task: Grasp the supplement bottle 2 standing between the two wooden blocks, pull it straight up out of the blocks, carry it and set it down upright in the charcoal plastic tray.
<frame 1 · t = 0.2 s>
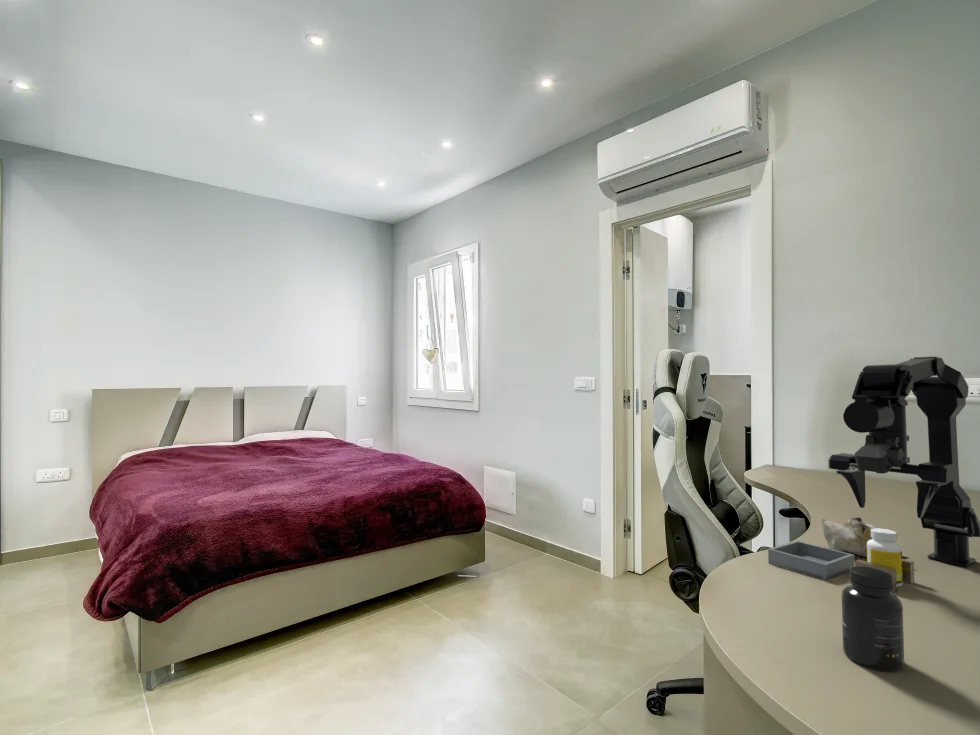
hand: (889, 512, 97), 14 cm above the table, fingers open, 9 cm apart
supplement bottle: (873, 661, 70), on the table
tray: (810, 566, 107), on the table
ceramic sculpture: (861, 556, 114), on the table
wooden blocks: (884, 582, 98), on the table
supplement bottle 2: (885, 583, 98), on the table
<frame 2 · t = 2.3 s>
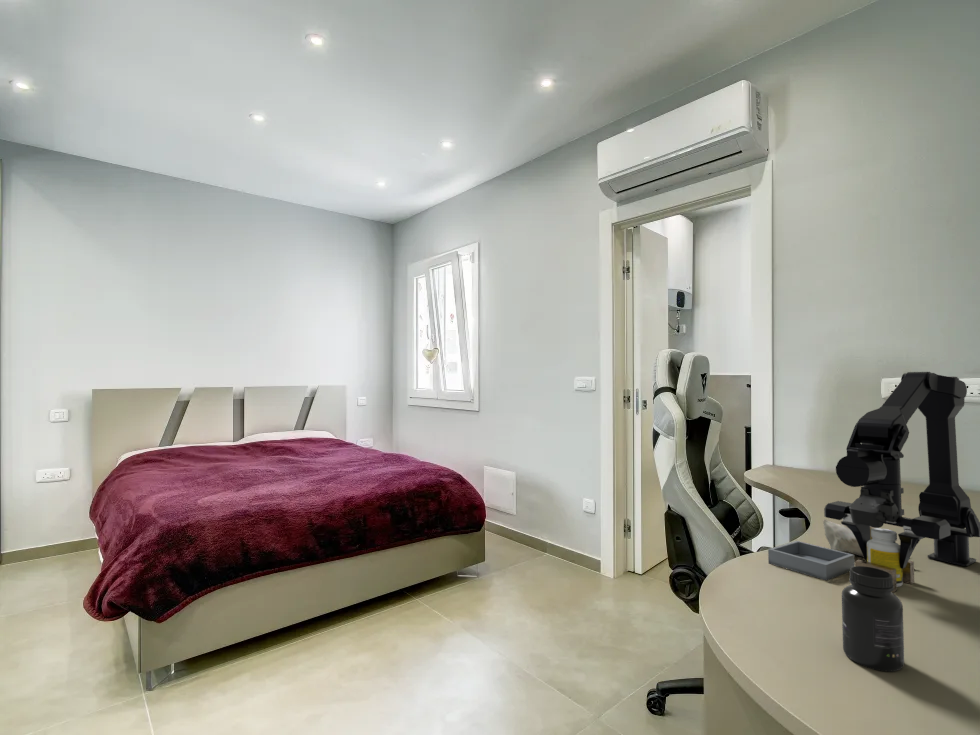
hand: (884, 563, 98), 4 cm above the table, fingers closed on supplement bottle 2, 5 cm apart
supplement bottle 2: (885, 583, 98), on the table, touching gripper
everything else where it was.
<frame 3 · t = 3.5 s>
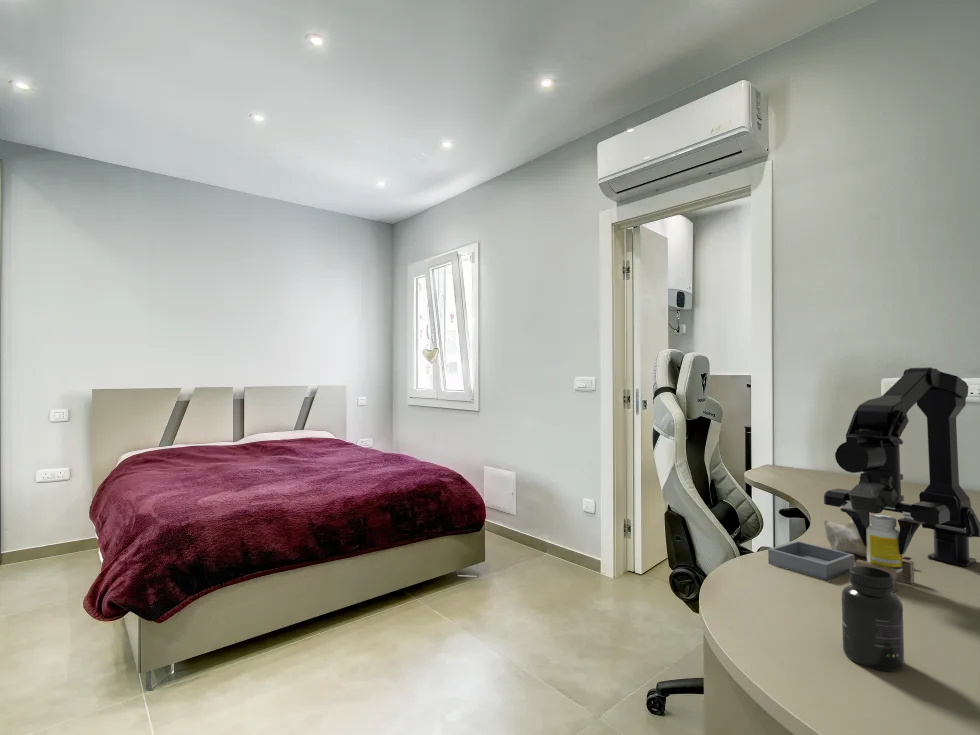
hand: (883, 549, 98), 6 cm above the table, fingers closed on supplement bottle 2, 5 cm apart
supplement bottle 2: (884, 569, 98), point 2 cm above the table, touching gripper
everything else where it was.
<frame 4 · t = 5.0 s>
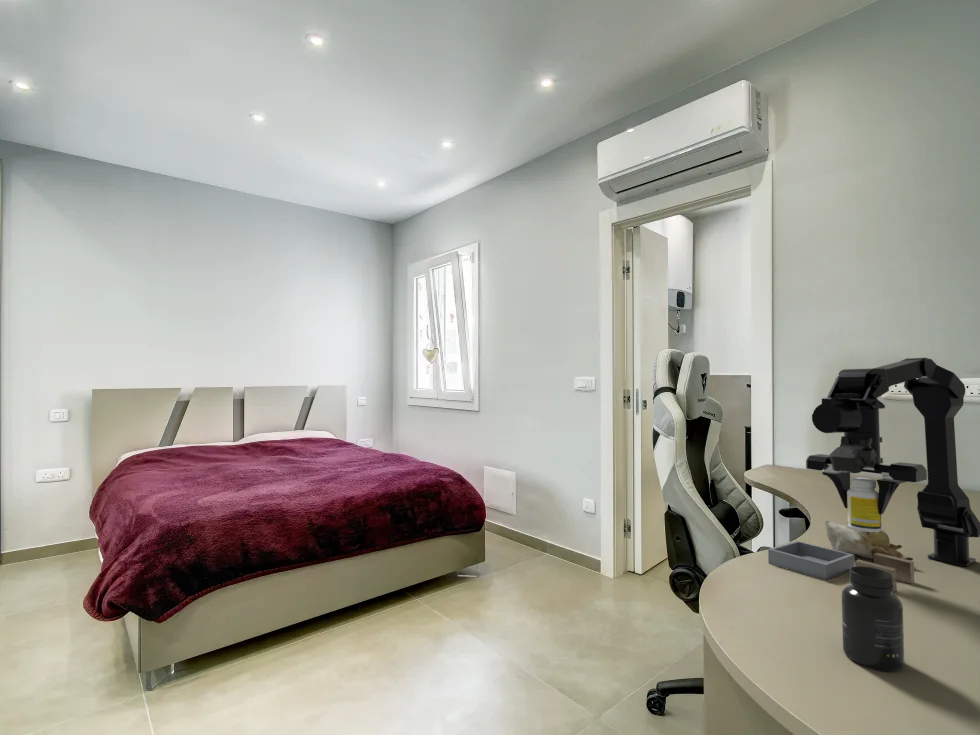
hand: (863, 511, 100), 13 cm above the table, fingers closed on supplement bottle 2, 5 cm apart
supplement bottle 2: (864, 530, 100), point 9 cm above the table, touching gripper
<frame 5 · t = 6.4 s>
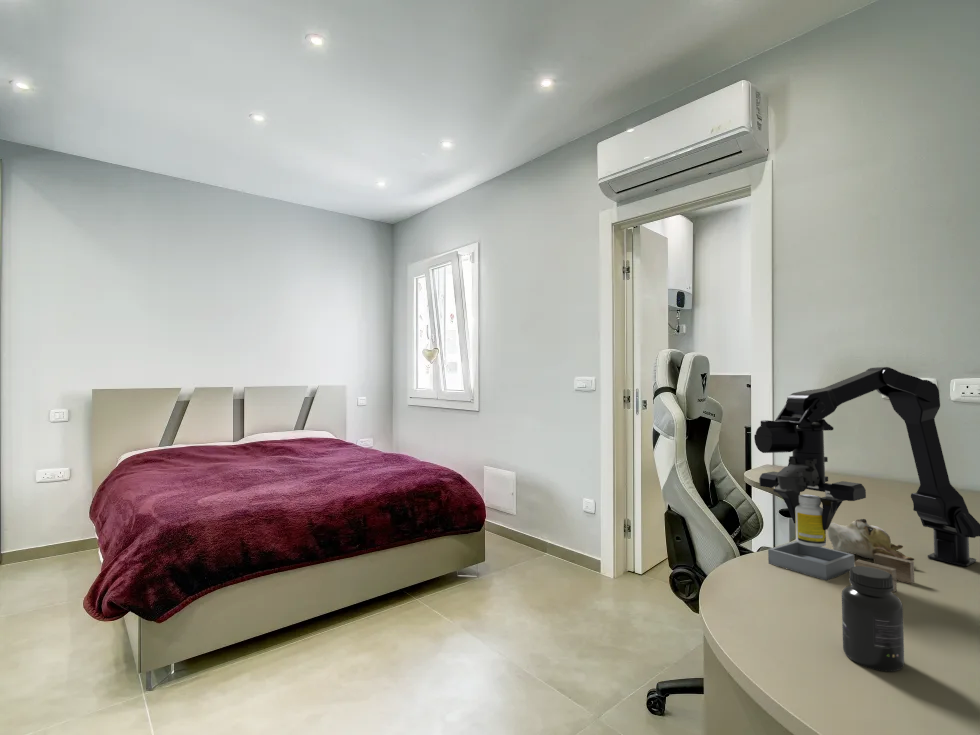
hand: (810, 526, 107), 8 cm above the table, fingers closed on supplement bottle 2, 5 cm apart
supplement bottle 2: (810, 544, 107), point 5 cm above the table, touching gripper
when the fingers open (5 cm above the table, at t = 7.7 s): supplement bottle 2 drops 1 cm, resting on tray.
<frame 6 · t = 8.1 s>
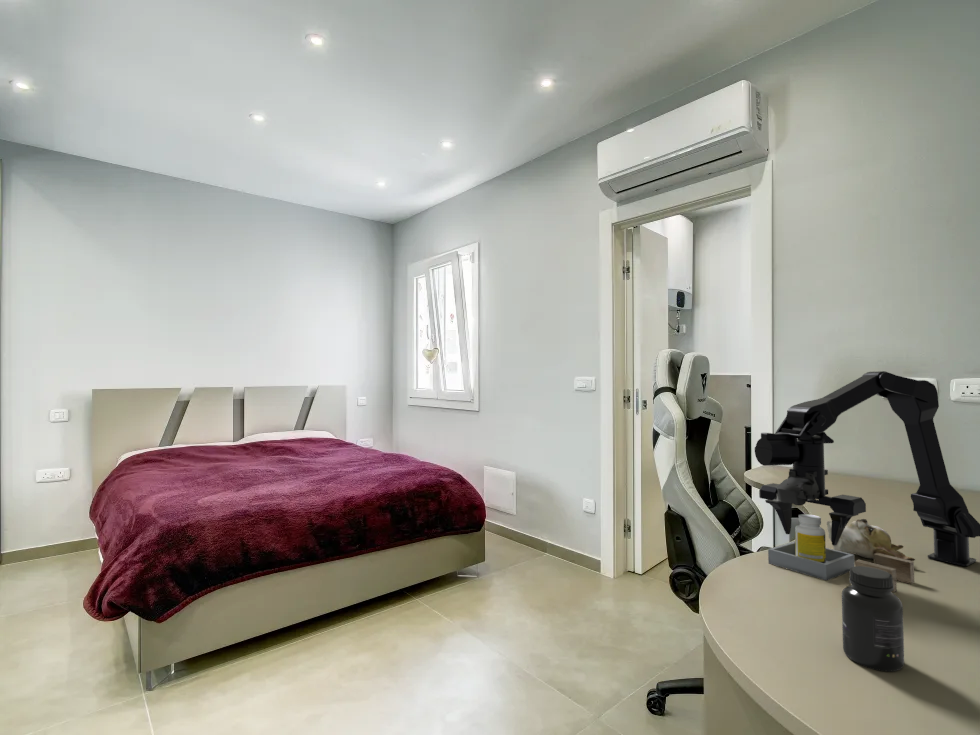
hand: (810, 539, 107), 6 cm above the table, fingers open, 9 cm apart
supplement bottle 2: (810, 564, 107), resting on tray
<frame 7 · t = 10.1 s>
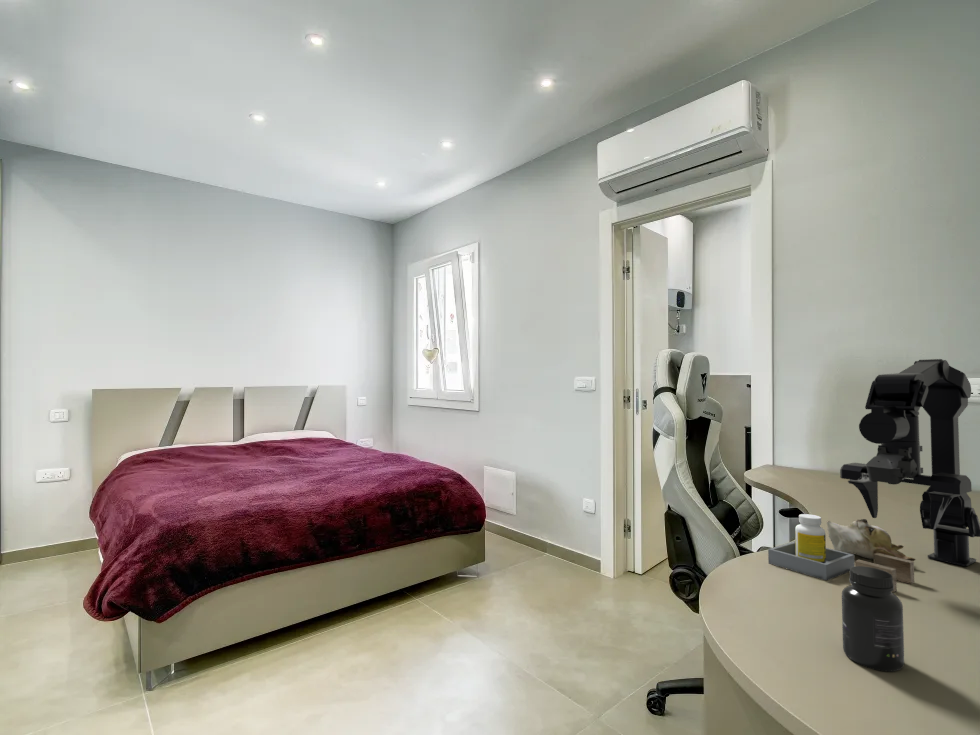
hand: (902, 523, 96), 12 cm above the table, fingers open, 9 cm apart
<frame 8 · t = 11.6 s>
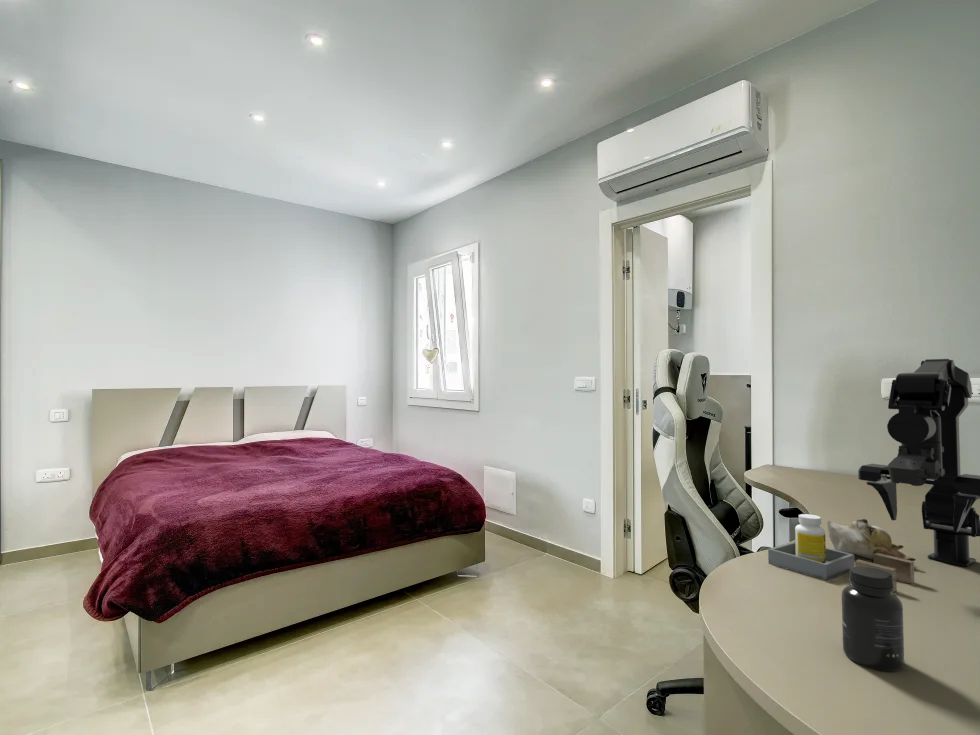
hand: (923, 525, 94), 12 cm above the table, fingers open, 9 cm apart
at the end: supplement bottle 2 inside the target area on the tray (0.0 cm from its centre), point 0.4 cm above the tray's base; supplement bottle 2 tilted 0°; the gripper is holding nothing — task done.
